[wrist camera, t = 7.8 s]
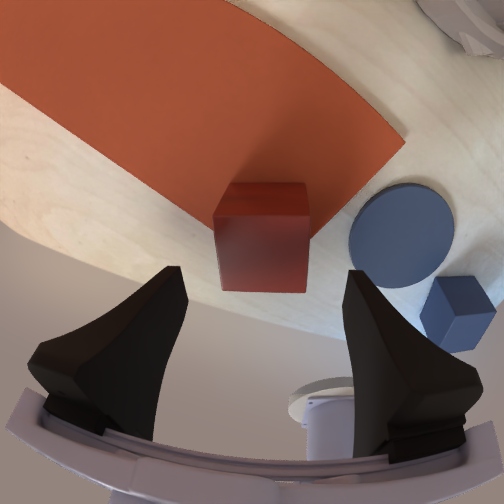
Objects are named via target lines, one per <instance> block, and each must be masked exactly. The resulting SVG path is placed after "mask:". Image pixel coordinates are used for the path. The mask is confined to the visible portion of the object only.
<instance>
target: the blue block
mask: <svg viewBox="0 0 504 504" xmlns="http://www.w3.org/2000/svg"><path fill="white" fill-rule="evenodd" d="M496 312H497V311H496V309H495V308H494V306H493V304H492V303H491V301H490V299H489V298H488V296H487V295H486V293H485V291H484V290H483V288H482V287H481V285H480V284H479V282H478V281H477V279H476V278H475V277H474V276H469V277H436V278H435V280H434V283H433V285H432V288H431V290H430V293H429V296H428V298H427V301H426V303H425V305H424V308H423V310H422V313H421V315H420V319H421V322H422V324H423V327H424V329H425V332H426V334H427V337H428V339H429V340H431V341H432V342H433V343H434V344H436V345H437V346H439V347H440V348H442V349H443V350H445V351H446V352H448V353H455V352H461V351H467V350H473V349H474V348H475V347H476V345H477V344H478V342H479V341H480V339H481V337H482V336H483V334H484V333H485V331H486V329H487V328H488V326H489V324H490V323H491V321H492V319H493V318H494V316H495V314H496Z"/></svg>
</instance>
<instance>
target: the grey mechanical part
mask: <svg viewBox="0 0 504 504" xmlns="http://www.w3.org/2000/svg"><path fill="white" fill-rule="evenodd" d="M416 1H417V3H418V4H419V6H420V7H421V9H422V10H423V12H424V13H425V14H426V15H427V16H428V17H429V18H430V19H431V20H432V21H433V22H434V23H435V24H436V25H437V26H438V27H439V28H440V29H441V30H442V31H443V32H445V33H446V34H447V35H448V36H449V37H451V38H452V39H453V40H455V41H457V42H458V43H460V44H461V45H463V47H464V50H465V52H466V55H472V56H478V55H485V56H489V57H493V58H497V59H501V60H504V0H416Z"/></svg>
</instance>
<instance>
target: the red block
mask: <svg viewBox="0 0 504 504" xmlns="http://www.w3.org/2000/svg"><path fill="white" fill-rule="evenodd" d="M212 223H213V230H214V238H215V245H216V252H217V259H218V266H219V273H220V280H221V287H222V290H223V291H240V292H272V293H306V287H307V275H308V261H309V246H310V229H311V213H310V207H309V201H308V195H307V189H306V184H305V183H229V185H228V186H227V188H226V190H225V192H224V194H223V196H222V198H221V199H220V201H219V203H218V205H217V207H216V209H215V211H214V213H213V215H212Z"/></svg>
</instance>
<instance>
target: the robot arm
mask: <svg viewBox="0 0 504 504" xmlns="http://www.w3.org/2000/svg"><path fill="white" fill-rule="evenodd" d="M188 302H189V301H188V297H187V293H186V289H185V285H184V281H183V276H182V272H181V268H180V266H167V267H165V268H164V269H163V270H161V271H160V272H159V273H158V274H156V275H155V276H154V277H153V278H152V279H150V280H149V281H148V282H147V283H146V284H144V285H143V286H142V287H141V288H140V289H138V290H137V291H136V292H135V293H134V294H132V295H131V296H129V297H128V298H127V299H126V300H124V301H123V302H122V303H120V304H119V305H118V306H116V307H115V308H113V309H112V310H110V311H109V312H107V313H106V314H104V315H102V316H101V317H99V318H97V319H96V320H94V321H92V322H90V323H88V324H86V325H85V326H83V327H81V328H79V329H76V330H74V331H72V332H70V333H67V334H65V335H62V336H60V337H57V338H54V339H51V340H48V341H45V342H42V343H40V344H39V346H38V347H37V349H36V351H35V352H34V354H33V355H32V357H31V359H30V360H29V362H28V363H27V364H28V369H29V370H30V372H31V374H32V375H33V376H34V378H35V379H36V380H37V381H38V382H39V383H40V384H41V385H42V386H43V388H44V389H45V390H46V391H47V392H48V393H49V395H48V397H47V399H46V398H45V397H44V396H42V395H41V394H39V393H37V392H35V391H33V390H31V389H29V388H25V390H24V391H23V393H22V395H21V397H20V399H19V401H18V403H17V405H16V406H15V408H14V410H13V412H12V414H11V416H10V418H9V420H8V422H7V424H6V427H5V428H6V430H8V431H9V432H10V433H11V434H13V435H14V436H15V437H17V438H18V439H19V440H21V441H22V442H23V443H25V444H26V445H28V446H29V447H31V448H32V449H33V450H35V451H37V452H38V453H40V454H41V455H43V456H44V457H46V458H48V459H49V460H51V461H53V462H54V463H56V464H58V465H60V466H62V467H64V468H65V469H67V470H69V471H71V472H73V473H75V474H77V475H78V476H80V477H83V478H85V479H87V480H89V481H91V482H93V483H95V484H97V485H100V486H102V487H104V488H106V489H109V490H111V491H112V493H111V496H110V500H109V503H108V504H436V503H439V502H442V501H445V500H448V499H451V498H453V497H456V496H458V495H461V494H464V493H466V492H468V491H470V490H472V489H475V488H477V487H479V486H481V485H483V484H485V483H487V482H489V481H491V480H493V479H495V478H497V477H499V476H500V475H502V474H503V473H504V470H503V464H502V459H501V454H500V449H499V445H498V441H497V436H496V433H495V429H494V425H493V422H492V421H488V422H486V423H483V424H480V425H477V426H475V427H472V428H469V429H468V430H466V431H464V428H463V425H464V424H465V423H466V418H465V413H466V412H467V411H468V410H469V409H470V408H471V407H472V406H473V405H474V404H475V403H476V402H477V401H478V400H479V398H480V397H481V395H482V393H483V386H482V383H481V380H480V377H479V375H478V372H477V370H476V368H474V367H472V366H471V365H469V364H467V363H465V362H463V361H461V360H459V359H457V358H455V357H454V356H452V355H451V354H449V353H448V352H446V351H445V350H443V349H442V348H440V347H439V346H437V345H436V344H434V343H433V342H432V341H431V340H429V339H428V338H427V337H425V336H424V335H423V334H422V333H420V332H419V331H418V330H417V329H416V328H415V327H414V326H413V325H411V324H410V323H409V322H408V321H407V320H406V319H405V318H404V317H403V316H402V315H401V314H400V313H399V312H398V311H397V310H396V309H395V308H394V307H393V306H392V304H391V303H390V302H389V301H388V300H387V299H386V298H385V296H384V295H383V294H382V293H381V292H380V290H379V289H378V288H377V287H376V286H375V284H374V283H373V282H372V281H371V279H370V278H369V277H368V276H367V274H366V273H365V272H364V271H363V270H349V272H348V278H347V284H346V289H345V294H344V299H343V304H342V310H343V322H344V330H345V335H346V340H347V345H348V350H349V354H350V360H351V366H352V372H353V381H354V395H352V396H329V397H309V398H308V399H307V403H306V407H305V411H304V415H303V419H302V423H301V427H302V428H307V460H306V461H288V460H286V461H285V460H264V459H249V458H240V457H229V456H223V455H216V454H209V453H203V452H197V451H191V450H186V449H181V448H177V447H172V446H168V445H163V444H159V443H155V442H152V440H153V431H154V422H155V415H156V409H157V403H158V398H159V393H160V389H161V384H162V379H163V376H164V372H165V368H166V365H167V362H168V359H169V357H170V354H171V352H172V349H173V346H174V344H175V341H176V339H177V337H178V334H179V332H180V329H181V327H182V324H183V321H184V318H185V314H186V310H187V306H188ZM275 481H294V482H293V483H284V482H275Z"/></svg>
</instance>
